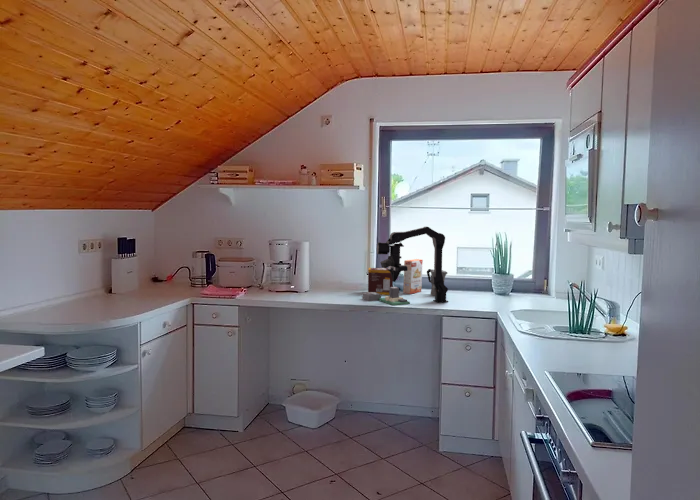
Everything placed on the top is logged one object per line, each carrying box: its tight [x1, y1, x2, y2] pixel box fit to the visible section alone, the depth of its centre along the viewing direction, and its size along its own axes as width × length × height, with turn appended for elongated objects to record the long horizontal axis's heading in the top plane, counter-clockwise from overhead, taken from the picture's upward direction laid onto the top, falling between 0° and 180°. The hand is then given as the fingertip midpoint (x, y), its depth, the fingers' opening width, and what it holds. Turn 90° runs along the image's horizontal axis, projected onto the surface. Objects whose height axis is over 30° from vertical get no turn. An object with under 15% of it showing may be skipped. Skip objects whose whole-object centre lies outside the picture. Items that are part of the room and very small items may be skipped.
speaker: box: [361, 291, 382, 302], centre depth 295 cm, size 8×8×4 cm
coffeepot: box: [426, 268, 448, 297], centre depth 313 cm, size 15×9×18 cm, turn 44°
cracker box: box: [402, 258, 424, 295], centre depth 320 cm, size 14×6×21 cm, turn 143°
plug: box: [388, 286, 400, 298], centre depth 288 cm, size 4×5×7 cm
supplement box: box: [367, 267, 394, 296], centre depth 316 cm, size 10×15×16 cm
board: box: [378, 295, 411, 306], centre depth 288 cm, size 16×11×3 cm
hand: (394, 281), depth 287 cm, fingers closed
